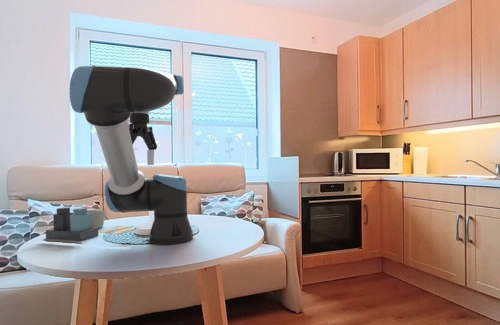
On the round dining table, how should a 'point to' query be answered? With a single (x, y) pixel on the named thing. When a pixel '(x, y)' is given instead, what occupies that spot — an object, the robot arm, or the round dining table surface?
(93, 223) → the teacup
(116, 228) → the board
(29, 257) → the round dining table surface
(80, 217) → the plug
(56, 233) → the dark grey block holder
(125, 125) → the robot arm
